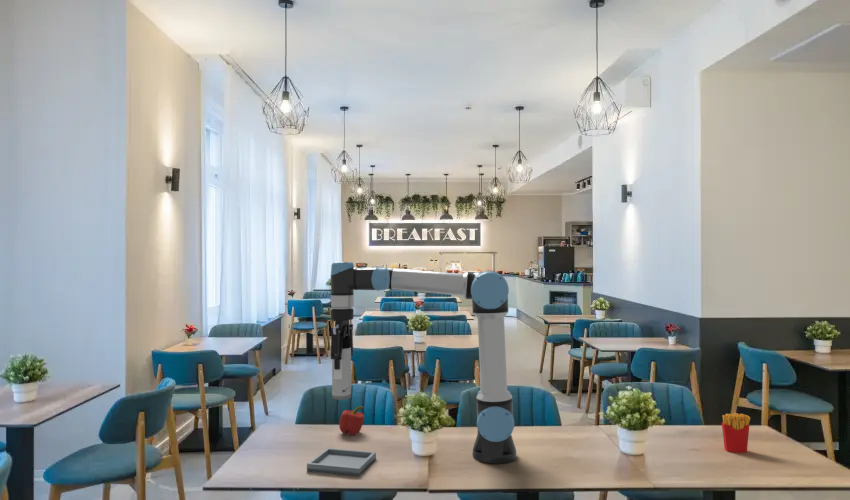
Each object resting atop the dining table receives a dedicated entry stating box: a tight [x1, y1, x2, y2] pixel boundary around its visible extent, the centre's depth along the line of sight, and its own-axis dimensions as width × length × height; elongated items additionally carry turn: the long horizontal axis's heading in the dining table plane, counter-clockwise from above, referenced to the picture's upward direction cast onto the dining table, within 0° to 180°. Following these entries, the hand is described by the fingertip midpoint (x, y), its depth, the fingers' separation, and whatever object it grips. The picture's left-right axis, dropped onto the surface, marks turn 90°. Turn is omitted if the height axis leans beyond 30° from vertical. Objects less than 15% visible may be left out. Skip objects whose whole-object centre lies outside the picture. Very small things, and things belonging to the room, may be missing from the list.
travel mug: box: [331, 337, 352, 401], centre depth 192 cm, size 6×7×20 cm
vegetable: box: [338, 405, 365, 436], centre depth 227 cm, size 11×10×10 cm
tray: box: [306, 447, 377, 477], centre depth 192 cm, size 18×16×2 cm
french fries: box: [721, 412, 751, 454], centre depth 205 cm, size 9×4×13 cm, turn 85°
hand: (342, 376), depth 192 cm, fingers closed on travel mug, 6 cm apart
